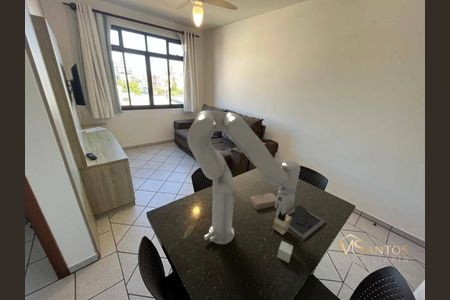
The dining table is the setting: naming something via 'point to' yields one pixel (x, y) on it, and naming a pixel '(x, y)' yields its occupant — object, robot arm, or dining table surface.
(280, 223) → the maple block
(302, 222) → the picture frame
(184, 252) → the dining table surface
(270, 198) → the brick
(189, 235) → the dining table surface
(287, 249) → the sage block
